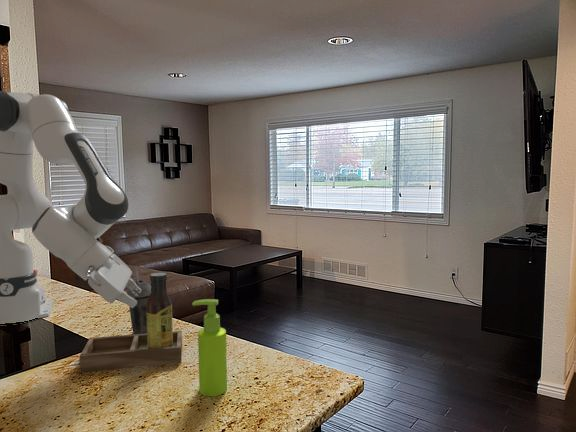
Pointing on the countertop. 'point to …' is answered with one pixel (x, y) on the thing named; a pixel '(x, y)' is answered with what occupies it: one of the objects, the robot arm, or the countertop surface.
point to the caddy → (128, 352)
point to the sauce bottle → (159, 313)
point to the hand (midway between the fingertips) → (137, 299)
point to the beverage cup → (140, 307)
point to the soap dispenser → (212, 352)
